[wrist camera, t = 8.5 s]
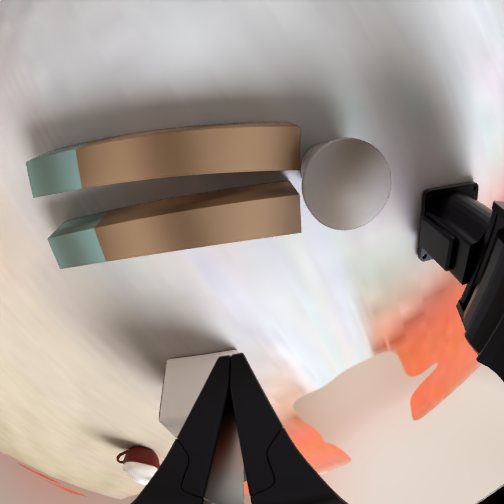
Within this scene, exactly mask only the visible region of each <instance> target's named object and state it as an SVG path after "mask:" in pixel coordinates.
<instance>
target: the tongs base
mask: <svg viewBox="0 0 504 504" xmlns="http://www.w3.org/2000/svg"><path fill="white" fill-rule="evenodd" d="M301 175H302V194H303V198H304V201H305V203H306V206H307V207H308V209H309V211H310V212H311V213H312V215H313V216H314V217H315V218H316V219H317V220H318V221H319V222H320V223H322V224H323V225H325V226H327V227H329V228H332V229H337V230H351V229H355V228H358V227H361V226H363V225H365V224H367V223H368V222H370V221H371V220H373V219H374V218H375V217H376V216H377V215H378V214H379V213H380V211H381V210H382V209H383V207H384V205H385V204H386V202H387V199H388V196H389V193H390V189H391V173H390V169H389V166H388V163H387V161H386V159H385V157H384V156H383V155H382V153H381V152H380V151H379V150H378V149H377V148H375V147H374V146H373V145H371V144H369V143H367V142H365V141H362V140H359V139H355V138H339V139H336V140H333V141H330V142H322V143H318V144H316V145H314V146H313V147H311V148H310V149H309V150H308V151H307V152H306V154H305V155H304V157H303V160H302V163H301ZM295 233H301V215H300V196H299V193H298V192H297V191H296V189H295V188H294V186H293V185H292V184H291V182H290V181H283V182H275V183H267V184H259V185H252V186H244V187H237V188H230V189H224V190H217V191H211V192H205V193H199V194H193V195H187V196H181V197H176V198H170V199H165V200H159V201H154V202H149V203H144V204H139V205H134V206H129V207H125V208H120V209H115V210H111V211H106V212H102V213H97V214H93V215H89V216H85V217H81V218H77V219H72V220H69V221H65V222H64V223H63V224H62V225H61V226H60V227H59V228H58V229H57V230H56V231H55V232H54V233H53V234H52V235H51V236H50V237H49V238H48V241H49V244H50V246H51V248H52V251H53V253H54V256H55V258H56V260H57V262H58V265H59V267H60V269H63V268H69V267H76V266H82V265H88V264H94V263H100V262H106V261H113V260H119V259H125V258H132V257H138V256H145V255H151V254H158V253H164V252H171V251H177V250H184V249H191V248H197V247H204V246H211V245H218V244H224V243H231V242H238V241H245V240H252V239H259V238H266V237H273V236H280V235H288V234H295Z"/></svg>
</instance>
